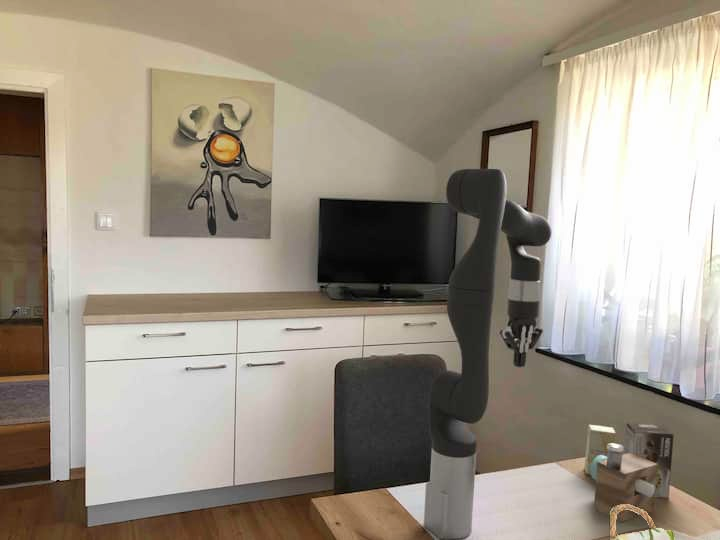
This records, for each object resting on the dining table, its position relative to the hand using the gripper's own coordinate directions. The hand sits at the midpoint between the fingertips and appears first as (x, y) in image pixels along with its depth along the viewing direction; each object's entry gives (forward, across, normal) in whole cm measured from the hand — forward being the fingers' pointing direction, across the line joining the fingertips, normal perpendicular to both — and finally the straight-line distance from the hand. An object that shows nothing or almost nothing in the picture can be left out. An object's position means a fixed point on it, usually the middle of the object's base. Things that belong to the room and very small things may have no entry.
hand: (519, 366), depth 146 cm
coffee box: (+29, +25, -20) cm, 43 cm away
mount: (+29, +12, -24) cm, 39 cm away
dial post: (+18, +7, -24) cm, 30 cm away
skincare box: (+29, +23, -8) cm, 38 cm away
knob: (+25, +12, -23) cm, 36 cm away
